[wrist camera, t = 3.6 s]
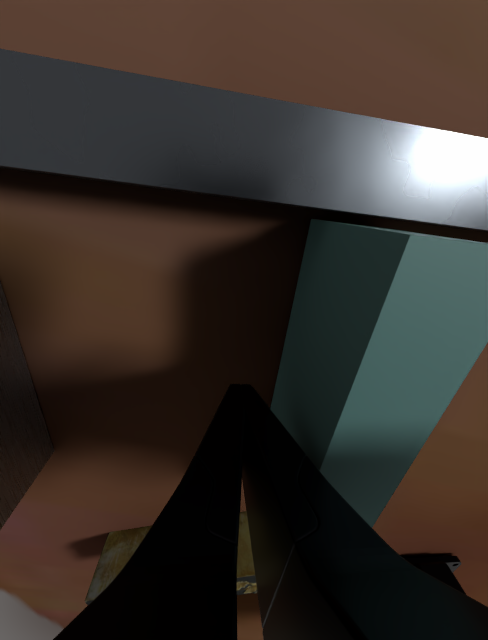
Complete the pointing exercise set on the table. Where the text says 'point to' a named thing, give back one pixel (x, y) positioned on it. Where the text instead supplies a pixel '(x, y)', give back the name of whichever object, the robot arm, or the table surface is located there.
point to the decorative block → (127, 542)
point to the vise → (209, 177)
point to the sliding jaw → (377, 350)
